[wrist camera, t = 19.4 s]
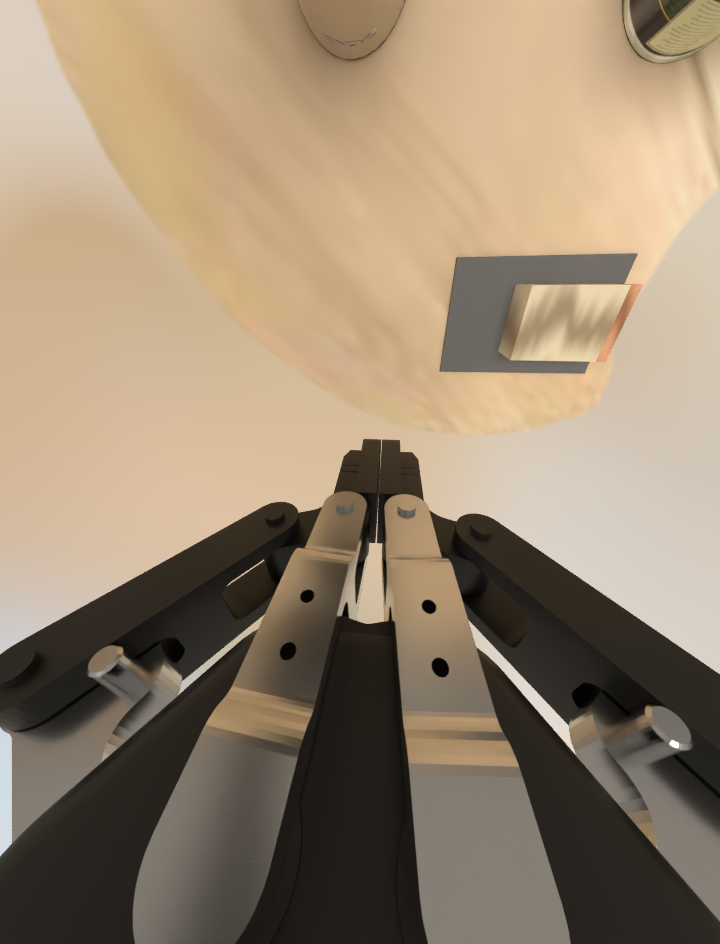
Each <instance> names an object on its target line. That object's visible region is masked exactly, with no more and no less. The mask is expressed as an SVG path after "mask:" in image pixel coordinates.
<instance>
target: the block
mask: <svg viewBox="0 0 720 944" xmlns="http://www.w3.org/2000/svg"><path fill="white" fill-rule="evenodd" d="M641 287H642V285H639V284H516V285H515V289H514V293H513V297H512V301H511V304H510V308H509V312H508V316H507V319H506V323H505V327H504V331H503V335H502V338H501V342H500V346H499V350H498V352H499V353H501V354H502V355H504V356H505V357H506V358H508V359H509V360H526V361H582V362H606V360H607V358H608V355H609V353H610V351H611V349H612V347H613V345H614V343H615V341H616V339H617V337H618V335H619V333H620V331H621V329H622V327H623V325H624V322H625V320H626V318H627V316H628V314H629V312H630V310H631V308H632V306H633V304H634V302H635V300H636V298H637V296H638V294H639V292H640V289H641Z"/></svg>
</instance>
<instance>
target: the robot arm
mask: <svg viewBox="0 0 720 944" xmlns="http://www.w3.org/2000/svg"><path fill="white" fill-rule="evenodd" d="M298 1H299V4H300V7H301V9H302V12H303V15H304V17H305V19H306V21H307V23H308V25H309V28H310V30H311V32H312V33H313V34H314V36H315V37H316V38H317V40H318V41H319V43H320V44H321V45H322V46H323V47H324V48H326V49H327V50H328V51H329V52H330V53H332V54H334V55H336V56H338V57H340V58H344V59H357V58H360V57H364V56H366V55H368V54H369V53H371V52H372V51H374V50H375V49H377V48H378V46H379V45H380V44H381V43H382V42H383V41H384V40H385V39H386V38H387V36H388V35H389V33H390V31H391V30H392V28H393V27H394V25H395V23H396V21H397V19H398V16H399V14H400V12H401V9H402V7H403V5H404V1H405V0H298ZM380 453H381V440H378V439H364V440H363V445H362V451H359V450H350V451H349V452H348V453H347V454H346V455H345V456H344V458H343V462H342V466H341V469H340V473H339V476H338V480H337V484H336V487H335V491H334V494H332V495H331V496H329V497H328V498H327V499H326V500H325V502H324V504H323V506H322V507H321V508H318V509H316V510H311V511H306V512H300V513H298V510H297V508H296V507H295V506H294V505H292V504H290V503H286V502H276V503H271V504H268V505H266V506H263V507H262V508H260V509H258V510H256V511H255V512H253V513H251V514H249V515H247V516H246V517H244V518H242V519H240V520H238V521H237V522H235V523H233V524H231V525H229V526H228V527H226V528H224V529H222V530H220V531H218V532H217V533H215V534H213V535H211V536H209V537H208V538H206V539H204V540H202V541H200V542H199V543H197V544H195V545H193V546H191V547H190V548H188V549H186V550H184V551H182V552H181V553H179V554H177V555H175V556H173V557H172V558H170V559H168V560H166V561H164V562H163V563H161V564H159V565H157V566H155V567H153V568H152V569H150V570H148V571H147V572H144V573H143V574H141V575H139V576H137V577H136V578H134V579H132V580H130V581H128V582H127V583H125V584H123V585H121V586H119V587H118V588H116V589H114V590H112V591H111V592H108V593H107V594H105V595H103V596H101V597H100V598H98V599H96V600H94V601H92V602H90V603H89V604H87V605H85V606H83V607H81V608H80V609H78V610H76V611H74V612H72V613H71V614H69V615H67V616H65V617H63V618H62V619H60V620H58V621H56V622H54V623H53V624H51V625H49V626H47V627H45V628H44V629H42V630H40V631H38V632H36V633H35V634H33V635H31V636H29V637H27V638H25V639H24V640H22V641H20V642H18V643H17V644H15V645H13V646H12V647H10V648H9V649H7V650H6V651H5V652H3V653H2V654H0V727H1V728H2V730H3V731H5V732H7V733H9V734H10V735H11V737H12V844H11V845H10V846H9V848H8V849H7V850H6V851H5V852H4V853H3V854H2V855H1V856H0V944H720V674H718V673H717V672H715V671H714V670H712V669H711V668H710V667H708V666H707V665H705V664H704V663H702V662H701V661H699V660H698V659H697V658H695V657H694V656H692V655H691V654H689V653H688V652H686V651H685V650H683V649H682V648H680V647H679V646H678V645H676V644H675V643H673V642H672V641H670V640H669V639H667V638H666V637H664V636H663V635H662V634H660V633H659V632H657V631H656V630H654V629H653V628H651V627H650V626H648V625H647V624H645V623H644V622H642V621H641V620H640V619H638V618H637V617H635V616H634V615H632V614H631V613H629V612H628V611H627V610H625V609H624V608H622V607H621V606H619V605H618V604H616V603H615V602H614V601H612V600H611V599H609V598H607V597H606V596H605V595H603V594H602V593H600V592H599V591H597V590H596V589H595V588H593V587H592V586H590V585H589V584H587V583H586V582H584V581H583V580H582V579H580V578H578V577H577V576H576V575H574V574H573V573H571V572H570V571H568V570H567V569H565V568H564V567H563V566H561V565H560V564H558V563H557V562H555V561H554V560H552V559H551V558H549V557H548V556H546V555H545V554H544V553H542V552H541V551H539V550H538V549H536V548H535V547H533V546H532V545H531V544H529V543H528V542H526V541H525V540H523V539H522V538H520V537H519V536H517V535H516V534H515V533H513V532H511V531H510V530H509V529H507V528H506V527H504V526H503V525H501V524H500V523H499V522H497V521H495V520H494V519H492V518H490V517H488V516H485V515H481V514H467V515H464V516H462V517H460V518H459V519H458V520H457V522H456V521H452V520H448V519H445V518H442V517H440V516H438V515H436V514H434V513H433V512H431V511H430V510H429V508H428V506H427V504H426V503H425V502H424V499H423V492H422V484H421V477H420V470H419V462H418V459H417V458H416V457H415V455H414V454H413V453H412V452H400V440H382V454H381V468H380ZM379 480H380V483H379ZM378 496H379V502H378ZM377 510H378V531H377V543H382V583H383V603H384V622H379V623H373V624H364V623H361V622H358V621H357V612H358V606H359V600H360V595H361V590H362V584H363V579H364V573H365V568H366V562H367V555H368V552H369V543H375V539H376V525H377ZM263 559H264V561H263V562H262V563H260V564H259V565H258V566H256V567H255V568H253V569H252V570H250V571H249V572H248V573H246V574H244V575H243V576H241V577H240V578H239V579H237V580H236V581H234V582H233V583H231V584H230V585H228V584H229V583H230V582H231V581H233V580H234V579H236V578H237V577H239V576H240V575H241V574H243V573H244V572H246V571H247V570H249V569H250V568H252V567H253V566H255V565H256V564H258V563H259V562H260V561H262V560H263ZM227 585H228V586H227ZM226 586H227V587H226ZM264 614H265V616H264V617H263V620H262V622H261V624H260V626H259V628H258V630H256V631H254V632H252V633H251V634H249V635H248V636H247V637H245V638H244V639H242V640H241V641H240V642H239V643H238V644H237V645H235V646H234V647H233V648H232V649H231V650H230V651H229V652H227V653H226V654H225V655H224V656H223V657H222V658H220V659H219V660H218V661H217V662H216V663H215V664H214V665H212V666H211V667H210V668H209V669H208V670H207V671H206V672H205V673H203V674H202V675H201V676H200V677H199V678H198V679H196V680H195V681H194V682H193V683H192V684H191V685H190V686H188V687H187V688H186V689H185V690H184V691H183V692H182V693H180V694H179V695H178V693H179V690H180V687H181V683H182V681H183V680H184V679H185V678H187V677H188V676H189V675H190V674H191V673H193V672H194V671H195V670H196V669H198V668H199V667H200V666H201V665H203V664H204V663H205V662H206V661H207V660H209V659H210V658H211V657H212V656H214V655H215V654H216V653H217V652H218V651H220V650H221V649H222V648H224V647H225V646H226V645H227V644H228V643H229V642H231V641H232V640H233V639H234V638H236V637H237V636H238V635H239V634H241V633H242V632H243V631H244V630H245V629H247V628H248V627H249V626H251V625H252V624H253V623H254V622H256V621H257V620H258V619H259V618H260V617H262V616H263V615H264ZM468 620H469V621H470V622H471V623H472V624H473V625H474V626H475V627H476V628H477V629H478V630H479V631H480V632H481V633H482V634H483V636H484V637H485V638H486V639H487V640H488V641H489V642H490V643H491V644H492V645H493V646H494V647H495V648H496V649H497V650H498V651H499V652H500V653H501V655H502V656H503V657H504V658H505V659H506V660H507V661H508V662H509V663H510V664H511V665H512V666H513V667H514V668H515V669H516V670H517V671H518V672H519V674H520V675H521V676H522V677H523V678H524V679H525V680H526V681H527V682H528V683H529V684H530V685H531V686H532V687H533V688H534V689H535V690H536V691H537V692H538V694H539V695H540V696H541V697H542V698H543V699H544V700H545V701H546V702H547V703H548V704H549V705H550V706H551V707H552V708H553V709H554V710H555V711H556V713H557V714H558V715H559V716H560V717H561V718H562V719H563V720H564V721H565V722H566V723H567V724H568V725H569V731H570V738H571V742H572V745H573V747H574V750H575V753H576V755H575V754H574V753H573V752H572V751H571V749H570V748H569V747H568V746H567V745H566V743H565V742H564V741H563V740H562V739H561V738H560V737H559V736H558V734H557V733H556V732H555V731H554V730H553V728H552V727H551V726H550V725H549V724H548V723H547V722H546V720H545V719H544V718H543V717H542V716H541V715H540V714H539V712H538V711H537V710H536V709H535V708H534V707H533V705H532V704H531V703H530V702H529V701H528V700H527V699H526V697H525V696H524V695H523V694H522V693H521V692H520V690H519V689H518V688H517V687H516V686H515V685H514V683H513V682H512V681H511V680H510V679H509V678H508V677H507V675H506V674H505V673H504V672H503V671H502V670H501V669H500V668H499V667H498V665H497V664H495V663H494V662H493V661H492V660H491V659H490V658H489V657H488V656H487V655H486V654H484V653H483V652H482V651H480V650H479V649H478V648H477V647H476V645H475V642H474V638H473V635H472V631H471V628H470V625H469V621H468ZM177 695H178V696H177Z"/></svg>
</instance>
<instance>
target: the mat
mask: <svg viewBox="0 0 720 944" xmlns="http://www.w3.org/2000/svg"><path fill="white" fill-rule="evenodd" d="M636 256H637V254H592V255H547V256H502V257H457V260H456V266H455V273H454V280H453V286H452V293H451V300H450V307H449V313H448V320H447V327H446V333H445V340H444V347H443V353H442V360H441V367H440V371H444V372H518V373H585V371H586V369H587V366H588V364H589V362H582V361H526V360H509V359H508V358H506V357H505V356H504V355H502V354H501V353H499V352H498V350H499V346H500V342H501V338H502V335H503V331H504V327H505V323H506V319H507V316H508V312H509V308H510V304H511V301H512V297H513V293H514V289H515V285H516V284H624V283H625V281H626V279H627V277H628V274H629V272H630V270H631V268H632V265H633V263H634V261H635V259H636Z"/></svg>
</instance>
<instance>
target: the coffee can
mask: <svg viewBox="0 0 720 944" xmlns="http://www.w3.org/2000/svg"><path fill="white" fill-rule="evenodd" d="M623 15H624V24H625V29H626V33H627V36H628V38H629V41H630V43H631V45H632V47H633V48H634V49H635V51H636V52H637V53H638V54H639V55H640V56H641V57H643V58H644V59H647V60H649V61H651V62H657V63H668V62H673V61H677V60H680V59H683V58H686V57H689V56H691V55H692V54H694V53H696V52H698V51H699V50H701V49H702V48H704V47H705V46H707V45H708V44H710V43H711V42H712V41H714V40H715V39H716V38H717V37H719V36H720V0H623Z"/></svg>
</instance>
